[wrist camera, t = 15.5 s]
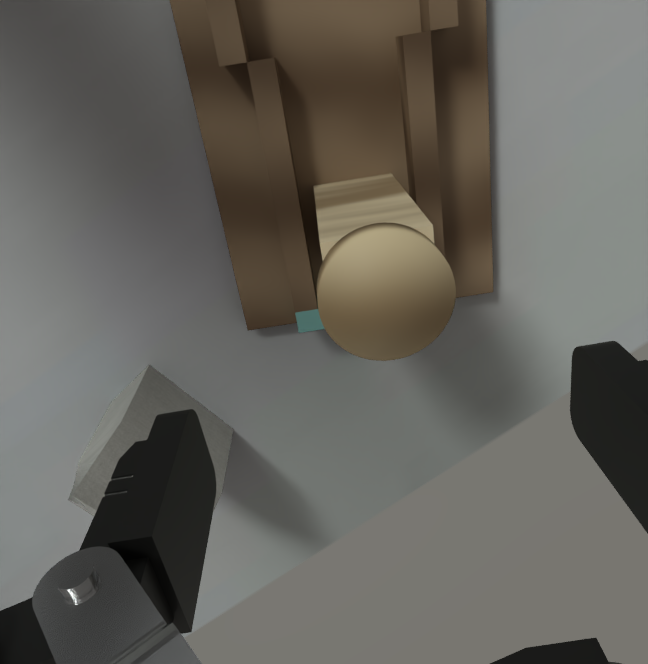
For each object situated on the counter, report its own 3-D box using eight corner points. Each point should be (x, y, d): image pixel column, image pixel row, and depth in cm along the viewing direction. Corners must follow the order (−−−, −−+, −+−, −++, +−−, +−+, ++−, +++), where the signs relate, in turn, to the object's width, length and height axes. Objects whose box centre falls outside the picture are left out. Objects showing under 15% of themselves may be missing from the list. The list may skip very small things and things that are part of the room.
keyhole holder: (116, -245, 22) (91, -287, 20) (470, -313, 22) (494, -365, 19) (249, 323, 33) (244, 346, 31) (487, 285, 33) (504, 305, 30)
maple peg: (304, 179, 29) (307, 244, 19) (398, 163, 29) (452, 221, 19) (319, 267, 31) (328, 369, 21) (406, 254, 31) (459, 349, 21)
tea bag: (149, 364, 34) (95, 473, 25) (233, 429, 37) (211, 550, 28) (111, 401, 35) (47, 519, 26) (195, 462, 38) (163, 589, 29)
